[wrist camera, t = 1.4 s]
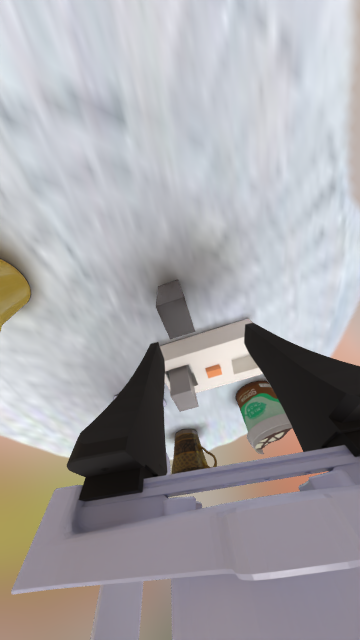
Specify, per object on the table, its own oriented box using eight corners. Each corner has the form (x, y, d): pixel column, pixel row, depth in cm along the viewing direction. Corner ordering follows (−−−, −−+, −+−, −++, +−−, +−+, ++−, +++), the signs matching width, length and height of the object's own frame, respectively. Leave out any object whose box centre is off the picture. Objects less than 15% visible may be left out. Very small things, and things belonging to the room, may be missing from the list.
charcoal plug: (176, 374, 28) (180, 411, 22) (169, 359, 26) (170, 396, 20) (190, 370, 28) (198, 406, 22) (184, 354, 26) (191, 390, 20)
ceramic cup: (183, 444, 47) (187, 491, 38) (162, 436, 42) (161, 486, 34) (216, 428, 43) (229, 476, 35) (197, 417, 39) (206, 468, 30)
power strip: (173, 381, 31) (175, 403, 27) (155, 347, 26) (154, 368, 22) (251, 358, 30) (265, 377, 25) (248, 318, 25) (265, 334, 20)
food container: (252, 371, 32) (285, 421, 23) (271, 377, 34) (309, 425, 25) (221, 403, 37) (239, 453, 28) (239, 406, 39) (262, 455, 30)
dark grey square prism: (168, 312, 23) (170, 339, 17) (158, 286, 20) (155, 306, 14) (186, 306, 22) (195, 331, 16) (177, 279, 20) (184, 296, 14)
